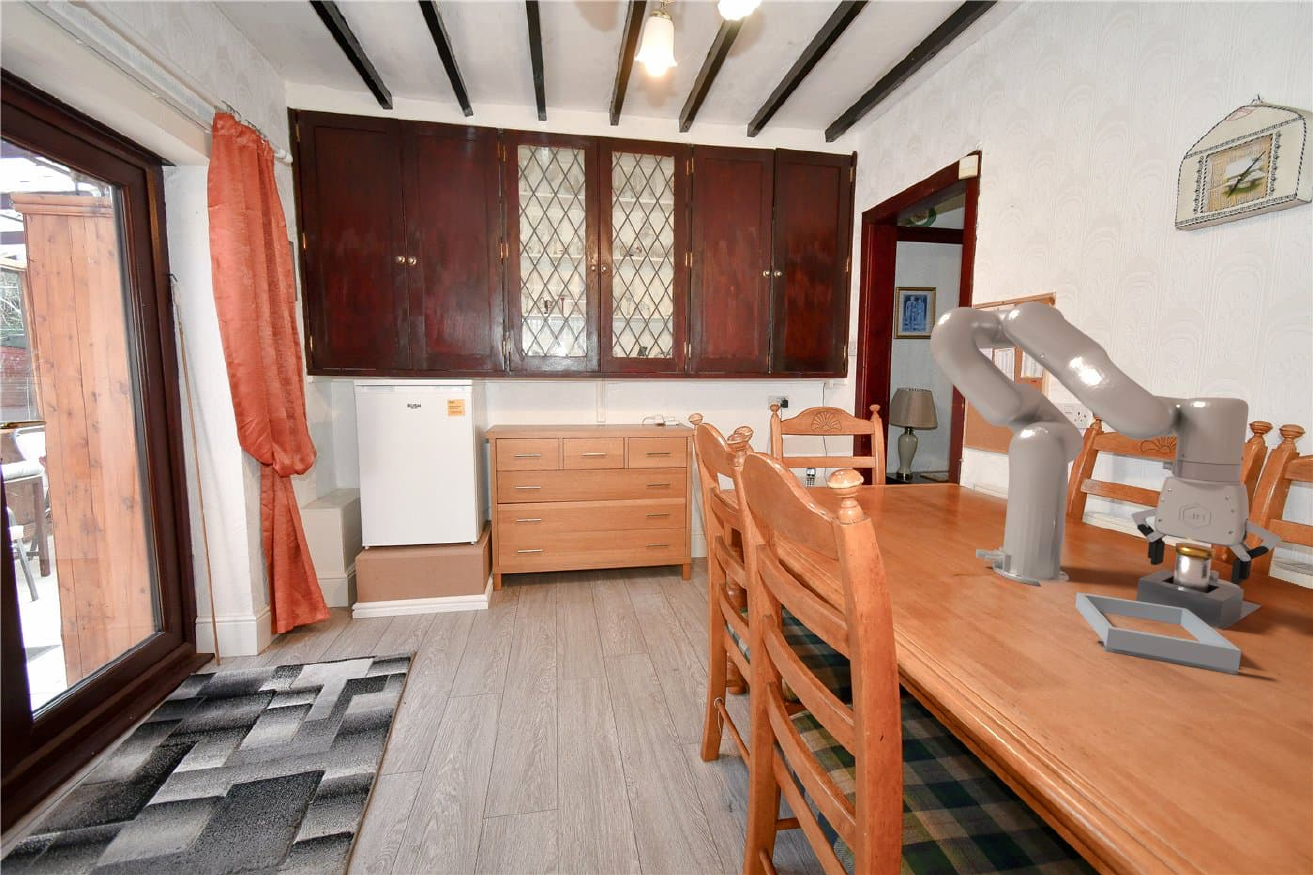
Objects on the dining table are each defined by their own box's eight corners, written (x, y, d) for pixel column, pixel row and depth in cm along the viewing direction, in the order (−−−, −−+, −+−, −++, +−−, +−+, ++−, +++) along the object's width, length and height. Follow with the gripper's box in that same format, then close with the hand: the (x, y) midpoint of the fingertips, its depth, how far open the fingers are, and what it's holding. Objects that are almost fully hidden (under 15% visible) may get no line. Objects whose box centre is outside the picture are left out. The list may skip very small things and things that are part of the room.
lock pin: (1175, 612, 85) (1184, 549, 84) (1162, 601, 89) (1170, 541, 88) (1212, 617, 83) (1222, 553, 82) (1197, 606, 87) (1206, 545, 86)
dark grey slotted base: (1222, 636, 79) (1227, 599, 78) (1131, 607, 88) (1135, 575, 88) (1261, 611, 88) (1266, 578, 87) (1174, 587, 97) (1178, 558, 97)
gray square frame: (1105, 650, 74) (1108, 628, 74) (1074, 611, 87) (1076, 592, 86) (1237, 675, 68) (1241, 650, 68) (1183, 629, 81) (1186, 608, 81)
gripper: (1128, 466, 89) (1119, 560, 91) (1281, 483, 74) (1266, 595, 75) (1146, 463, 92) (1137, 554, 94) (1295, 479, 77) (1281, 586, 79)
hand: (1194, 572), depth 85 cm, fingers open, 9 cm apart
